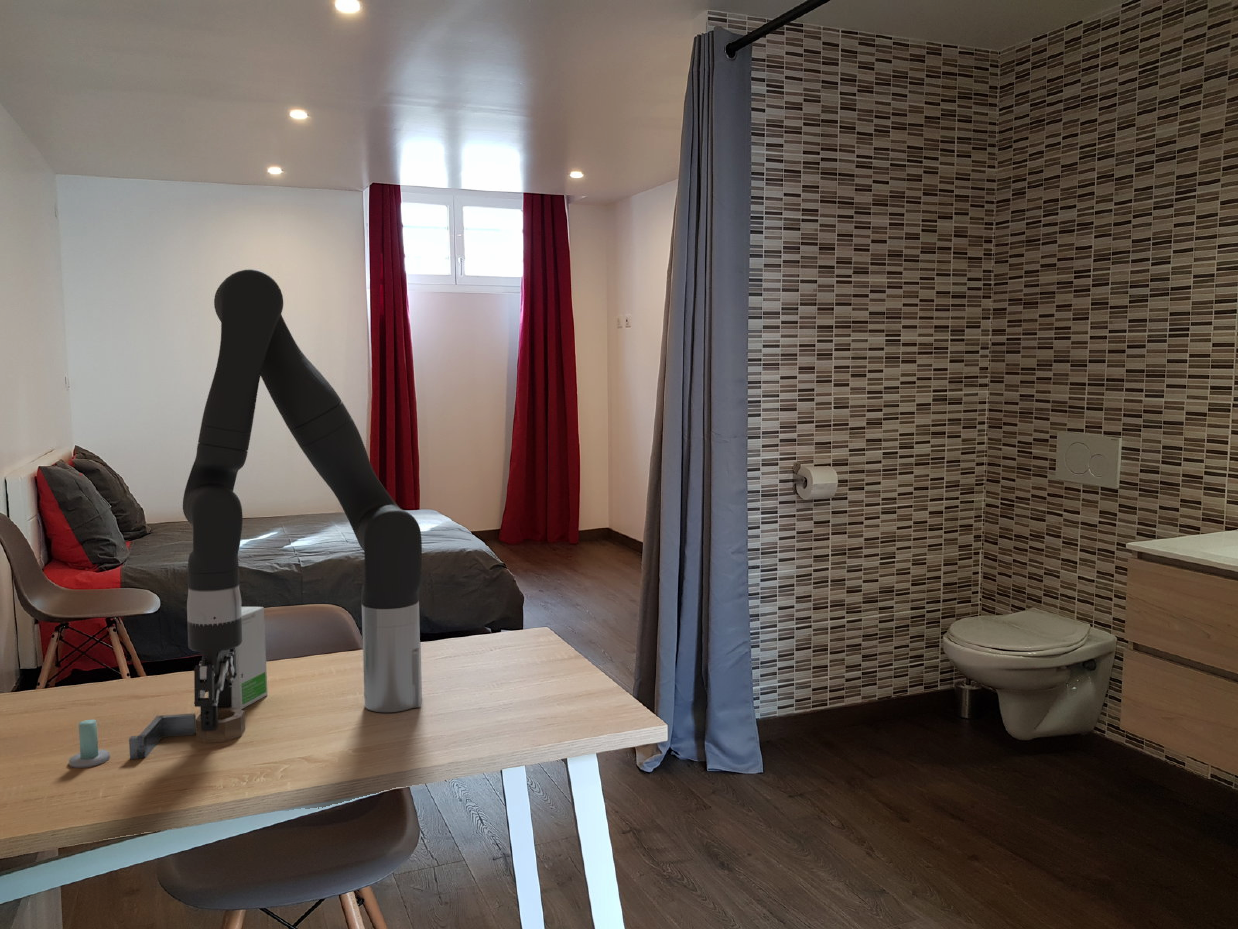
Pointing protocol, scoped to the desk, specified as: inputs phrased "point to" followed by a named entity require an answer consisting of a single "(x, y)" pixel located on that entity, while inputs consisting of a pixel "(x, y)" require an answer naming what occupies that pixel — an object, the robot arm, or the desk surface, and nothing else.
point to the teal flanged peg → (88, 747)
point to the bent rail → (161, 733)
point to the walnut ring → (223, 726)
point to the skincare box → (250, 660)
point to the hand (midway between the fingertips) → (217, 720)
